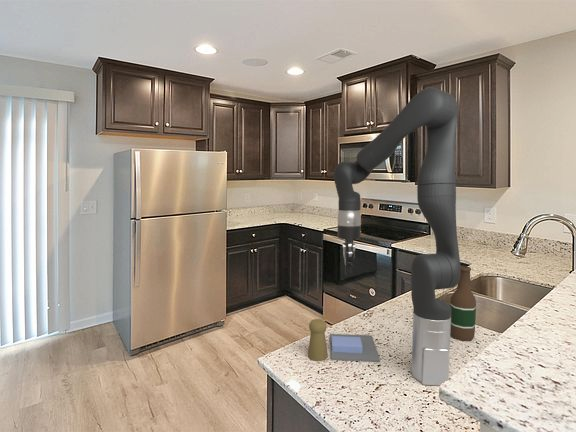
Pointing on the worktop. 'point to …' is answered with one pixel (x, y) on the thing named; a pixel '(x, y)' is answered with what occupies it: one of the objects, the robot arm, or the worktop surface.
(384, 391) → the worktop surface
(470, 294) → the beer bottle
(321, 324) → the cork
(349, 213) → the robot arm
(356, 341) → the card deck
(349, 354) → the mat
